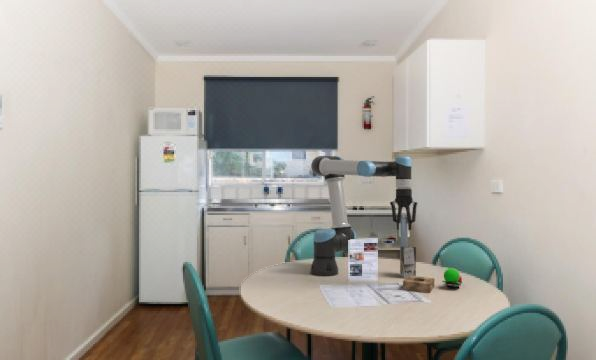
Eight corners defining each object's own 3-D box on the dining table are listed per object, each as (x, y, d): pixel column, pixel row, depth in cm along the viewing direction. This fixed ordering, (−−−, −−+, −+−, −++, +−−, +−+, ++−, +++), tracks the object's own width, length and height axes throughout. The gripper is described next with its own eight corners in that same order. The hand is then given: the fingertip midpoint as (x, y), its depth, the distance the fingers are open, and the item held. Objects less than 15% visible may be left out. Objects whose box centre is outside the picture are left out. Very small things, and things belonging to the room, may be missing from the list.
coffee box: (416, 278, 216) (416, 247, 216) (403, 278, 216) (403, 247, 216) (411, 274, 225) (411, 244, 225) (399, 274, 226) (399, 244, 225)
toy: (445, 290, 207) (440, 280, 195) (446, 274, 210) (442, 264, 199) (463, 292, 203) (459, 282, 191) (465, 276, 206) (461, 266, 195)
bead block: (403, 289, 195) (403, 281, 195) (409, 283, 206) (409, 275, 206) (429, 292, 190) (429, 284, 190) (434, 286, 200) (434, 278, 200)
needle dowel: (400, 246, 204) (399, 215, 204) (401, 245, 207) (401, 214, 207) (406, 247, 203) (406, 215, 203) (408, 246, 205) (408, 214, 205)
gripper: (385, 188, 205) (385, 236, 205) (418, 188, 198) (419, 238, 198) (389, 188, 212) (390, 235, 212) (422, 188, 204) (422, 236, 204)
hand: (404, 236), depth 205 cm, fingers closed on needle dowel, 3 cm apart
